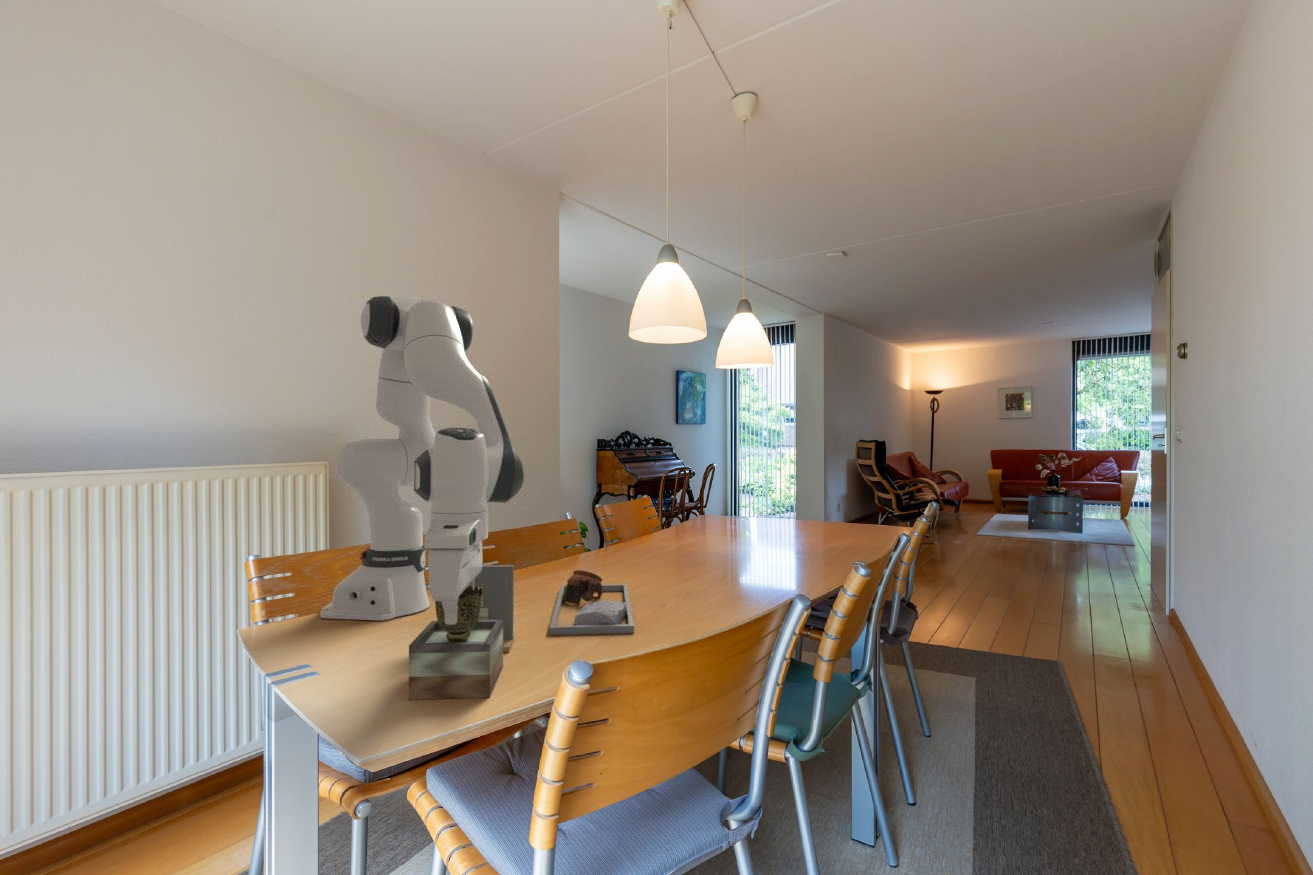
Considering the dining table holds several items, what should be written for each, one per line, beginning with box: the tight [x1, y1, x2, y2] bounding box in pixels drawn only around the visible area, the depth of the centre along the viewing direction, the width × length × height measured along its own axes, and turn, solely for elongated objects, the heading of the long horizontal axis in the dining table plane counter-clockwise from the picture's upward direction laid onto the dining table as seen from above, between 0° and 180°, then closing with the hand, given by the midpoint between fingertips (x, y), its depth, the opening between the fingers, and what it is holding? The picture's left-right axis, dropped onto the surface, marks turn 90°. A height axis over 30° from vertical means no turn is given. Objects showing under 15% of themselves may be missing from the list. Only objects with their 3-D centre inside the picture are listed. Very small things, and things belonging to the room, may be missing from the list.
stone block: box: [574, 600, 627, 626], centre depth 128 cm, size 12×5×10 cm
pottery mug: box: [562, 569, 603, 606], centre depth 145 cm, size 12×10×8 cm
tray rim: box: [548, 583, 635, 636], centre depth 137 cm, size 17×34×2 cm, turn 5°
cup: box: [434, 586, 483, 642], centre depth 96 cm, size 8×7×8 cm
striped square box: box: [408, 620, 504, 701], centre depth 96 cm, size 12×12×8 cm
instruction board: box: [436, 564, 515, 653], centre depth 112 cm, size 14×6×15 cm, turn 95°
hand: (459, 613), depth 96 cm, fingers open, 8 cm apart
